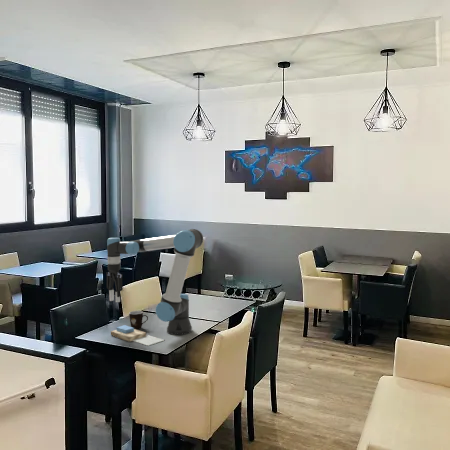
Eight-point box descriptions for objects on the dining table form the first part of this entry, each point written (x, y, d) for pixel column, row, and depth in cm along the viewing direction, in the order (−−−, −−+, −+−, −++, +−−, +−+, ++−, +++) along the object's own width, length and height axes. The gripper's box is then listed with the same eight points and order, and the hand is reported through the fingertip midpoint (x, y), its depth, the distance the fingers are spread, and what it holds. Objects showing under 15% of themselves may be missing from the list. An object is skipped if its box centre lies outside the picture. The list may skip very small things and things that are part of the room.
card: (116, 330, 265) (116, 327, 264) (124, 328, 269) (124, 325, 269) (125, 333, 259) (125, 330, 259) (134, 331, 263) (133, 327, 263)
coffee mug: (126, 328, 278) (126, 312, 277) (137, 325, 284) (137, 310, 284) (138, 332, 270) (137, 315, 269) (149, 328, 276) (148, 313, 276)
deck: (127, 330, 272) (127, 326, 272) (146, 336, 261) (146, 332, 260) (110, 335, 263) (110, 331, 263) (129, 341, 252) (129, 337, 251)
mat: (148, 335, 262) (148, 335, 262) (164, 340, 253) (164, 340, 253) (132, 340, 253) (132, 340, 253) (147, 346, 244) (147, 345, 244)
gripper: (99, 262, 272) (100, 300, 273) (117, 265, 259) (118, 304, 261) (110, 261, 277) (111, 298, 279) (128, 264, 265) (129, 302, 266)
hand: (114, 301), depth 270 cm, fingers open, 6 cm apart
